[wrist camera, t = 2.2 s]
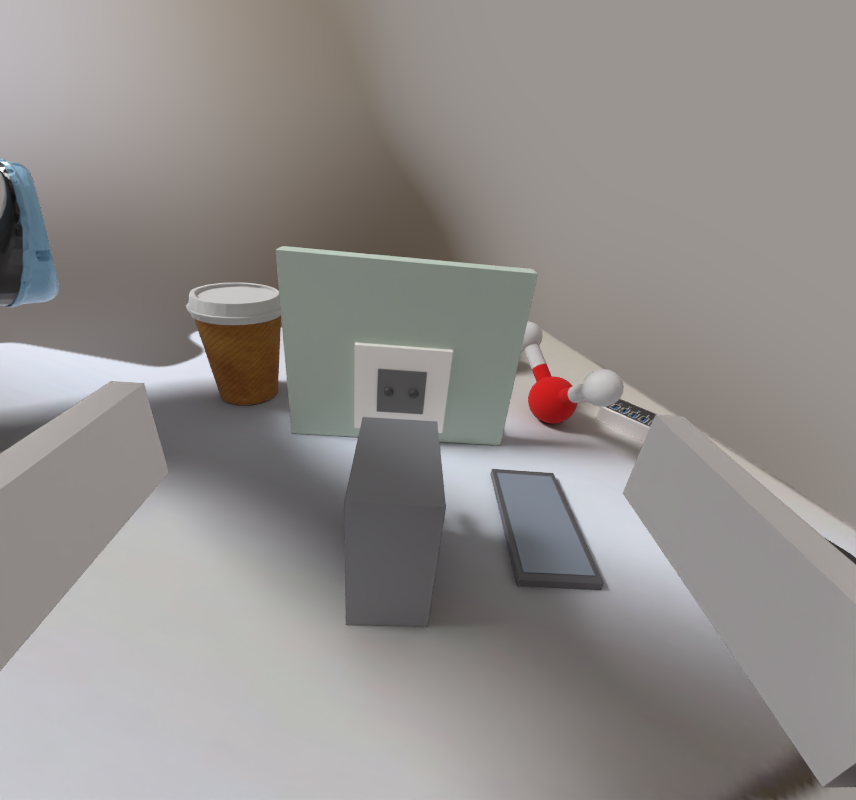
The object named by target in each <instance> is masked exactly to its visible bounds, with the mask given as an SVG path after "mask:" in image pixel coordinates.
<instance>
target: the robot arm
mask: <svg viewBox="0 0 856 800" xmlns="http://www.w3.org/2000/svg"><path fill="white" fill-rule="evenodd" d="M58 291H59V285H58V278H57V274H56V270H55V266H54V262H53V258H52V254H51V249H50V245H49V240H48V236H47V232H46V228H45V224H44V219H43V215H42V212H41V207H40V204H39V200H38V196H37V192H36V188H35V185H34V181H33V178H32V176H31V173H30V172H29V170H28V169H27V168H26V167H24V166H23V165H21V164H18V163H13V162H8V161H6V160H4V159H1V158H0V306H5V307H16V306H18V305H21V304H28V303H37V302H46V301H49V300H51V299H53V298H54V297H55V296H56V295H57V294H58ZM168 473H169V471H168V467H167V464H166V460H165V457H164V453H163V449H162V446H161V442H160V439H159V435H158V432H157V428H156V424H155V421H154V417H153V414H152V410H151V407H150V403H149V399H148V396H147V392H146V389H145V385H144V383H131V382H115V381H111V382H109V383H108V384H106V385H105V386H103V387H101V388H100V389H98V390H97V391H95V392H94V393H92V394H91V395H89V396H88V397H86V398H85V399H83V400H81V401H80V402H78V403H77V404H75V405H74V406H72V407H71V408H69V409H68V410H66V411H65V412H63V413H62V414H60V415H58V416H57V417H55V418H54V419H52V420H51V421H49V422H48V423H46V424H45V425H43V426H42V427H40V428H38V429H37V430H35V431H34V432H32V433H31V434H29V435H28V436H26V437H25V438H23V439H22V440H20V441H19V442H17V443H15V444H14V445H12V446H11V447H9V448H8V449H6V450H5V451H3V452H2V453H0V671H1V670H2V668H3V667H4V666H5V665H6V664H7V663H8V661H9V660H10V659H11V658H12V657H13V655H14V654H15V653H16V652H17V651H18V650H19V648H20V647H21V646H22V645H23V644H24V642H25V641H26V640H27V639H28V638H29V637H30V635H31V634H32V633H33V632H34V631H35V630H36V628H37V627H38V626H39V625H40V624H41V622H42V621H43V620H44V619H45V618H46V617H47V615H48V614H49V613H50V612H51V611H52V609H53V608H54V607H55V606H56V605H57V604H58V602H59V601H60V600H61V599H62V598H63V597H64V595H65V594H66V593H67V592H68V591H69V589H70V588H71V587H72V586H73V585H74V584H75V582H76V581H77V580H78V579H79V578H80V576H81V575H82V574H83V573H84V572H85V571H86V569H87V568H88V567H89V566H90V565H91V564H92V562H93V561H94V560H95V559H96V558H97V556H98V555H99V554H100V553H101V552H102V551H103V549H104V548H105V547H106V546H107V545H108V543H109V542H110V541H111V540H112V539H113V538H114V536H115V535H116V534H117V533H118V532H119V530H120V529H121V528H122V527H123V526H124V525H125V523H126V522H127V521H128V520H129V519H130V518H131V516H132V515H133V514H134V513H135V512H136V510H137V509H138V508H139V507H140V506H141V505H142V503H143V502H144V501H145V500H146V499H147V497H148V496H149V495H150V494H151V493H152V492H153V490H154V489H155V488H156V487H157V486H158V485H159V483H160V482H161V481H162V480H163V479H164V477H165V476H166V475H167V474H168ZM623 494H624V496H625V497H626V499H627V500H628V502H629V503H630V505H631V506H632V508H633V509H634V511H635V512H636V513H637V515H638V516H639V518H640V519H641V521H642V522H643V524H644V525H645V527H646V528H647V530H648V531H649V533H650V534H651V536H652V537H653V538H654V540H655V541H656V543H657V544H658V546H659V547H660V549H661V550H662V552H663V553H664V555H665V556H666V558H667V559H668V561H669V562H670V563H671V565H672V566H673V568H674V569H675V571H676V572H677V574H678V575H679V577H680V578H681V580H682V581H683V583H684V584H685V585H686V587H687V588H688V590H689V591H690V593H691V594H692V596H693V597H694V599H695V600H696V602H697V603H698V605H699V606H700V608H701V609H702V610H703V612H704V613H705V615H706V616H707V618H708V619H709V621H710V622H711V624H712V625H713V627H714V628H715V630H716V631H717V633H718V634H719V635H720V637H721V638H722V640H723V641H724V643H725V644H726V646H727V647H728V649H729V650H730V652H731V653H732V655H733V656H734V658H735V659H736V660H737V662H738V663H739V665H740V666H741V668H742V669H743V671H744V672H745V674H746V675H747V677H748V678H749V680H750V681H751V682H752V684H753V685H754V687H755V688H756V690H757V691H758V693H759V694H760V696H761V697H762V699H763V700H764V702H765V703H766V705H767V706H768V707H769V709H770V710H771V712H772V713H773V715H774V716H775V718H776V719H777V721H778V722H779V724H780V725H781V727H782V728H783V730H784V731H785V732H786V734H787V735H788V737H789V738H790V740H791V741H792V743H793V744H794V746H795V747H796V749H797V750H798V752H799V753H800V754H801V756H802V757H803V759H804V760H805V762H806V763H807V765H808V766H809V768H810V769H811V771H812V772H813V774H814V775H815V777H816V778H817V779H818V781H819V782H820V784H821V785H822V787H856V558H855V557H854V556H853V555H851V554H850V553H848V552H847V551H845V550H843V549H842V548H840V547H839V546H837V545H835V544H834V543H832V542H831V541H829V540H827V539H826V538H824V537H823V536H822V535H820V534H819V533H818V532H817V531H816V530H815V529H813V528H812V527H811V526H810V525H809V524H808V523H806V522H805V521H804V520H803V519H802V518H801V517H799V516H798V515H797V514H796V513H795V512H794V511H792V510H791V509H790V508H789V507H788V506H787V505H785V504H784V503H783V502H782V501H781V500H780V499H778V498H777V497H776V496H775V495H774V494H773V493H771V492H770V491H769V490H768V489H767V488H766V487H764V486H763V485H762V484H761V483H760V482H759V481H757V480H756V479H755V478H754V477H753V476H752V475H750V474H749V473H748V472H747V471H746V470H745V469H744V468H742V467H741V466H740V465H739V464H738V463H737V462H735V461H734V460H733V459H732V458H731V457H730V456H728V455H727V454H726V453H725V452H724V451H723V450H721V449H720V448H719V447H718V446H717V445H716V444H714V443H713V442H712V441H711V440H710V439H709V438H707V437H706V436H705V435H704V434H703V433H702V432H700V431H699V430H698V429H697V428H696V427H695V426H693V425H692V424H691V423H690V422H689V421H688V420H686V419H685V418H684V417H683V416H669V415H655V417H654V420H653V422H652V424H651V427H650V429H649V432H648V434H647V436H646V439H645V441H644V444H643V446H642V448H641V451H640V453H639V456H638V458H637V460H636V463H635V465H634V467H633V470H632V472H631V475H630V477H629V479H628V482H627V484H626V487H625V489H624V491H623Z"/></svg>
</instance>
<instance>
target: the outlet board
mask: <svg viewBox="0 0 856 800" xmlns="http://www.w3.org/2000/svg"><path fill="white" fill-rule="evenodd" d="M276 259H277V271H278V282H279V294H280V306H281V317H282V329H283V340H284V352H285V363H286V375H287V387H288V398H289V410H290V421H291V433H297V434H314V435H331V436H348V437H358V436H359V431H360V427H361V422H362V417H372V418H389V419H405V420H422V421H437V424H438V434H439V442H451V443H469V444H486V445H500V444H501V440H502V435H503V431H504V426H505V422H506V417H507V413H508V408H509V404H510V399H511V394H512V390H513V385H514V381H515V376H516V372H517V367H518V363H519V358H520V354H521V349H522V345H523V340H524V336H525V331H526V326H527V322H528V317H529V313H530V308H531V303H532V299H533V295H534V290H535V285H536V281H537V277H538V273H536V272H535V271H534V270H532V269H525V268H513V267H503V266H492V265H481V264H470V263H460V262H448V261H438V260H427V259H416V258H405V257H394V256H383V255H373V254H361V253H351V252H339V251H329V250H318V249H307V248H297V247H285V246H282V247H280V248H278V249H276Z"/></svg>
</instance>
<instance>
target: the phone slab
mask: <svg viewBox="0 0 856 800" xmlns="http://www.w3.org/2000/svg"><path fill="white" fill-rule="evenodd" d="M491 478H492V482H493V486H494V491H495V495H496V499H497V503H498V507H499V511H500V515H501V520H502V524H503V528H504V532H505V536H506V540H507V544H508V548H509V553H510V557H511V561H512V565H513V569H514V573H515V577H516V582H517V586H529V587H551V588H573V589H595V590H601V588H602V586H603V581H602V579H601V577H600V575H599V573H598V570H597V568H596V566H595V564H594V562H593V559H592V557H591V555H590V553H589V551H588V549H587V546H586V544H585V542H584V540H583V538H582V535H581V533H580V531H579V529H578V527H577V524H576V522H575V520H574V518H573V516H572V513H571V511H570V509H569V507H568V505H567V502H566V500H565V498H564V496H563V494H562V492H561V489H560V487H559V485H558V483H557V481H556V478H555V476H554V474H553V473H543V472H528V471H514V470H499V469H492V471H491Z"/></svg>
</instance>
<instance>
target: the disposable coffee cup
mask: <svg viewBox="0 0 856 800" xmlns="http://www.w3.org/2000/svg"><path fill="white" fill-rule="evenodd" d="M186 307H187V310H188V311H189V312H190V313H191V316H192V317H193V318H194V319H195V322H196V325H197V328H198V331H199V334H200V337H201V340H202V343H203V346H204V348H205V352H206V354H207V358H208V360H209V363H210V367H211V369H212V372H213V375H214V378H215V381H216V384H217V387H218V390H219V393H220V396H221V398H222V399H223V400H224V401H225V402H227V403H230V404H235V405H253V404H259V403H262V402H265V401H268V400H270V399H271V398H273V397H274V396H275V395H276V394H277V392H278V373H279V349H280V327H281V306H280V294H279V291H278V290H277V289H275V288H273V287H269V286H266V285H261V284H253V283H218V284H210V285H205V286H201V287H197V288H195V289H193V290H191V291H190V293H189V302H188V303H187V305H186Z"/></svg>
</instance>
